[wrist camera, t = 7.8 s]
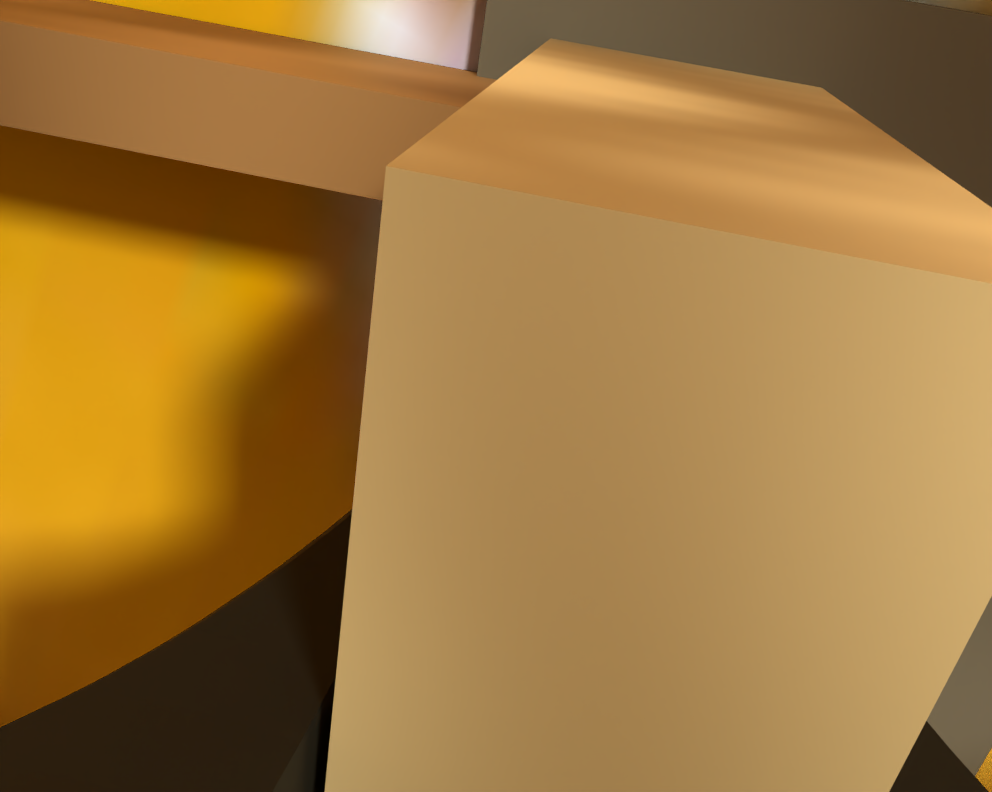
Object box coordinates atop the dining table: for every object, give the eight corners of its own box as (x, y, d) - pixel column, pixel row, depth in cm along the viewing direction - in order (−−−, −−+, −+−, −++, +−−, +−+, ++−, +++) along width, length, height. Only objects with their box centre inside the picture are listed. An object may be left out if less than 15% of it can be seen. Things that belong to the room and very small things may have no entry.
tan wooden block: (821, 87, 10) (1138, 313, 3) (620, 737, 14) (600, 1339, 8) (551, 38, 10) (385, 165, 4) (438, 694, 14) (280, 1251, 8)
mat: (1356, 79, 9) (1377, 83, 9) (922, 840, 15) (928, 856, 14) (501, -70, 10) (496, -72, 9) (391, 715, 15) (386, 729, 15)
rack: (514, 78, 10) (477, 111, 8) (353, 1101, 21) (318, 1237, 19) (-347, -81, 11) (-598, -94, 9) (-86, 984, 22) (-170, 1101, 19)
